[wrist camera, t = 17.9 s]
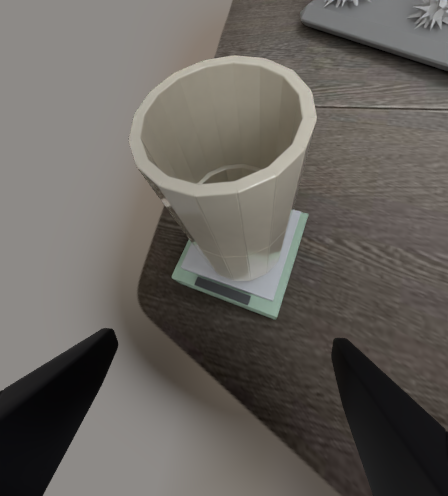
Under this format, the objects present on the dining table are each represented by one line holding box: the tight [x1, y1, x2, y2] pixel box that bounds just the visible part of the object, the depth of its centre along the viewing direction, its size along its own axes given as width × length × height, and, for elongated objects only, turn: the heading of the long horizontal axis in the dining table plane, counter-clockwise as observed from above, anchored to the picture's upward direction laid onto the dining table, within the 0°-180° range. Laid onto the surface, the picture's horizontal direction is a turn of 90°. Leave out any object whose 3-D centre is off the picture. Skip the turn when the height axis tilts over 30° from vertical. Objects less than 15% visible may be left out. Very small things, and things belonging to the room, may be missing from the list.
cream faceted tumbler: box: [129, 55, 317, 281], centre depth 15 cm, size 7×7×13 cm
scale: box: [171, 210, 308, 320], centre depth 22 cm, size 10×10×3 cm
